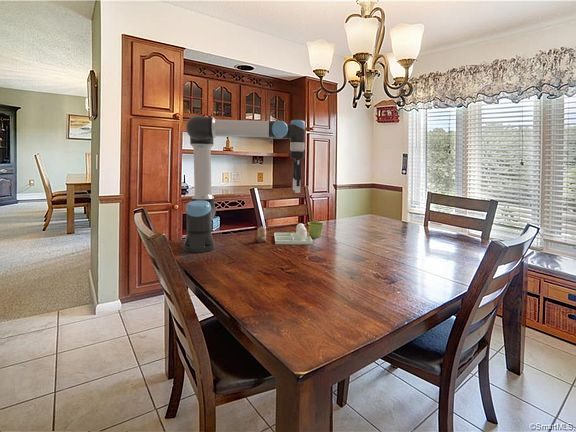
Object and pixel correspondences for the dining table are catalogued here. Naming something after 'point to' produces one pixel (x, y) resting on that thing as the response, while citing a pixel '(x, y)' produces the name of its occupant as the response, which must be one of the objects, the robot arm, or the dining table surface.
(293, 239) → the caddy
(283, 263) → the dining table surface
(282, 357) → the dining table surface
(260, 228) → the wooden egg
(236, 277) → the dining table surface
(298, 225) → the white egg far left
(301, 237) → the white egg far right
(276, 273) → the dining table surface
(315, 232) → the plant pot
